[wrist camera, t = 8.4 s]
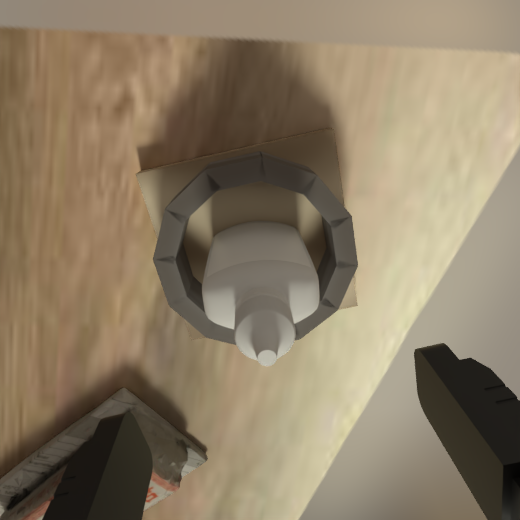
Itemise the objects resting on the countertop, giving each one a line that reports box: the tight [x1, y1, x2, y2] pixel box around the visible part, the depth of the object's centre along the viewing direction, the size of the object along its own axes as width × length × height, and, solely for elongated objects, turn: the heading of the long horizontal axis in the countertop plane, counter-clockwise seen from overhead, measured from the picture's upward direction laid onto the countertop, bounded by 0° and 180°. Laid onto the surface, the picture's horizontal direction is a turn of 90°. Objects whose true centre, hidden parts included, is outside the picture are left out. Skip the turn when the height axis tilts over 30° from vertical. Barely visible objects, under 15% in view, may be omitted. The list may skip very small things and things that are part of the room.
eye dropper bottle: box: [202, 221, 319, 366], centre depth 19 cm, size 4×6×12 cm
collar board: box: [136, 128, 358, 345], centre depth 24 cm, size 12×12×4 cm
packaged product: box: [0, 388, 208, 520], centre depth 31 cm, size 18×5×10 cm
